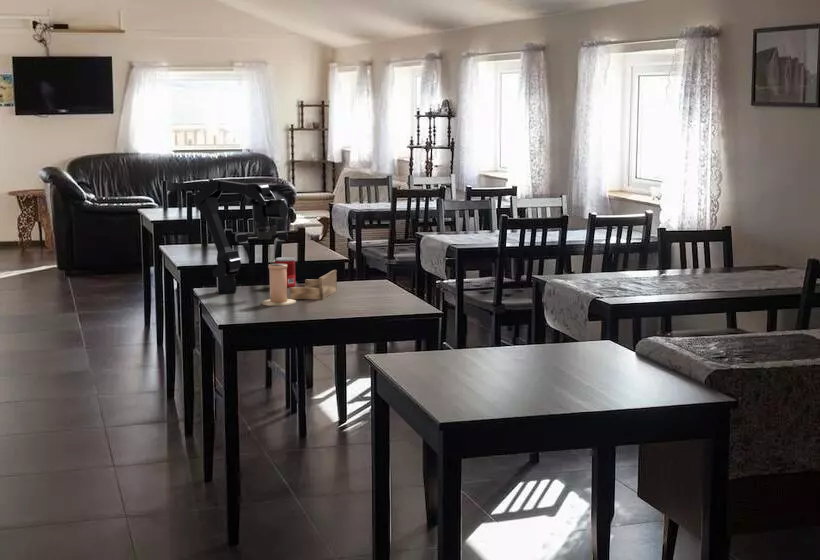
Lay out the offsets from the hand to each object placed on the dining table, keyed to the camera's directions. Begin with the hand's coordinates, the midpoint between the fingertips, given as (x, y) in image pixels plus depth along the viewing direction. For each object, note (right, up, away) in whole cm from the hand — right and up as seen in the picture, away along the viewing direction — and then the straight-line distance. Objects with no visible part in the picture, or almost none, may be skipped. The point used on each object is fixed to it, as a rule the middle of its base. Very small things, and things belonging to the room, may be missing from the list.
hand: (262, 260), depth 405 cm
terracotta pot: (+8, -15, -15) cm, 22 cm away
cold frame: (+18, -13, +4) cm, 22 cm away
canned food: (+6, -10, +24) cm, 26 cm away
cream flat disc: (+8, -15, -15) cm, 23 cm away
